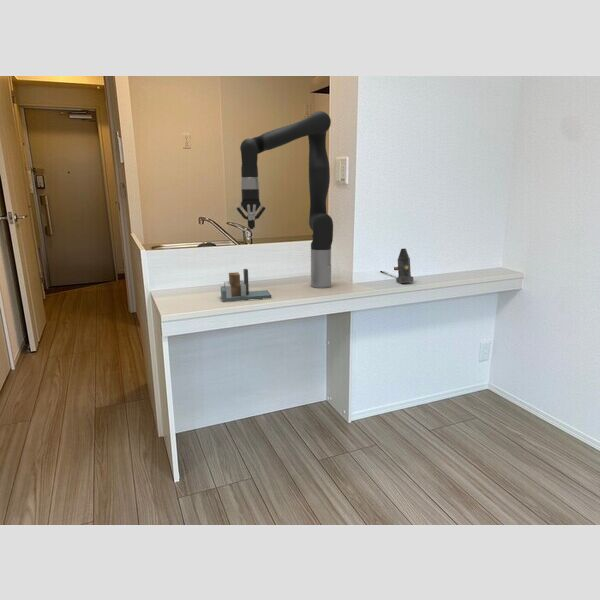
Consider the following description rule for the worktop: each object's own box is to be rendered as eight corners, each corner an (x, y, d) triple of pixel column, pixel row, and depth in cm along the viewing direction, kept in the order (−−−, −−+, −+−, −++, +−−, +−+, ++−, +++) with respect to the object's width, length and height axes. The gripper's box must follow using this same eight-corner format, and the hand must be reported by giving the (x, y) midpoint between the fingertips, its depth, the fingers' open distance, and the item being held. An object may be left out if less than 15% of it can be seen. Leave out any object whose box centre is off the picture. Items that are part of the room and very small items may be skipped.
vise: (267, 293, 202) (267, 278, 201) (271, 298, 194) (271, 283, 192) (221, 296, 198) (220, 281, 196) (223, 302, 189) (222, 286, 187)
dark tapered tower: (385, 252, 246) (411, 247, 217) (386, 282, 247) (413, 281, 218) (374, 253, 245) (399, 248, 216) (376, 283, 246) (401, 282, 216)
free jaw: (246, 291, 200) (245, 267, 197) (249, 296, 191) (248, 271, 189) (238, 291, 199) (237, 267, 196) (241, 296, 190) (240, 271, 188)
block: (239, 293, 197) (238, 272, 195) (240, 296, 192) (239, 274, 190) (229, 293, 196) (228, 272, 194) (230, 296, 191) (230, 275, 189)
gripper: (235, 188, 195) (237, 230, 199) (266, 188, 198) (267, 229, 202) (233, 188, 202) (235, 228, 206) (263, 187, 205) (264, 227, 209)
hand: (251, 228), depth 204 cm, fingers closed
